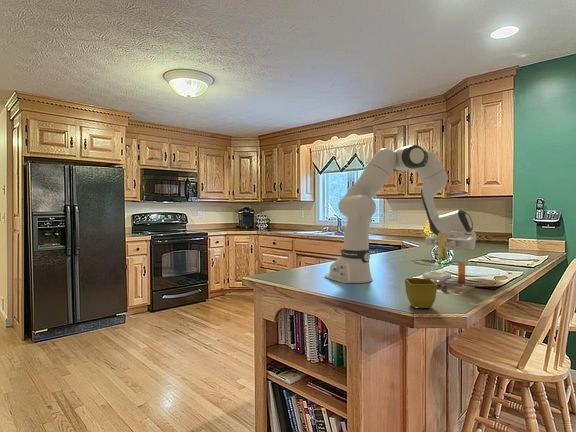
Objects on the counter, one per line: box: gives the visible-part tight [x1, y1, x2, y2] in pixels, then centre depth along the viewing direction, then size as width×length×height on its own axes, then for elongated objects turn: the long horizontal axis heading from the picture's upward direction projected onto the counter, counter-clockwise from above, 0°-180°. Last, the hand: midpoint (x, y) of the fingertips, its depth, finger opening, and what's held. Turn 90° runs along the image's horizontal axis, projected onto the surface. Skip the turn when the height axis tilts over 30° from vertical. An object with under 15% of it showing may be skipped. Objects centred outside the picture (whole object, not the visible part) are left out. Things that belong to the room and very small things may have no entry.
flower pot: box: [404, 277, 437, 309], centre depth 122 cm, size 9×9×9 cm
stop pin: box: [437, 233, 448, 260], centre depth 155 cm, size 4×4×11 cm
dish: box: [422, 270, 452, 281], centre depth 163 cm, size 9×9×2 cm
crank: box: [433, 261, 466, 287], centre depth 144 cm, size 12×5×9 cm, turn 68°
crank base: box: [431, 279, 476, 296], centre depth 145 cm, size 18×17×3 cm
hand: (441, 243), depth 154 cm, fingers closed on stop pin, 4 cm apart
